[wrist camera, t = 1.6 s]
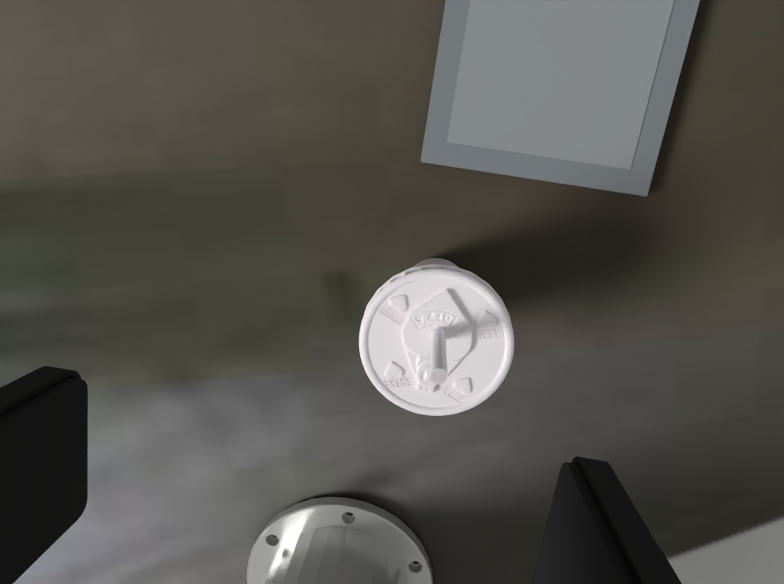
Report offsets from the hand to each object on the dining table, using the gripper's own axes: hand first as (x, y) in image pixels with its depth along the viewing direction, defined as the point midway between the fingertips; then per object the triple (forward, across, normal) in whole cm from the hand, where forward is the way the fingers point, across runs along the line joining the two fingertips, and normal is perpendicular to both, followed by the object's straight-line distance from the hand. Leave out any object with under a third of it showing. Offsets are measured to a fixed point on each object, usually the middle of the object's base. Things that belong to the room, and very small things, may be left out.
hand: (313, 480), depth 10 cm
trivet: (+21, -7, -12) cm, 25 cm away
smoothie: (+21, -2, +1) cm, 21 cm away
